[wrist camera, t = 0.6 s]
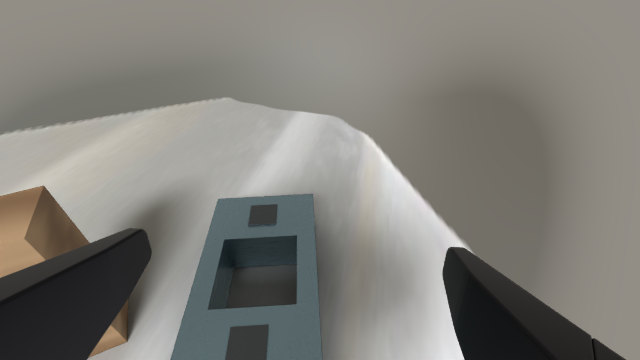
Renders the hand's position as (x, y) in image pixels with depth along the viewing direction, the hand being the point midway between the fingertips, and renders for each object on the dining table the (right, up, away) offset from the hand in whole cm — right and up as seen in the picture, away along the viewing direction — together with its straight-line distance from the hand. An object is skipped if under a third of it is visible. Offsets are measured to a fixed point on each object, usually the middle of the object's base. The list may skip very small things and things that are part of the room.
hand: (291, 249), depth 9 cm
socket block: (-4, -8, +16) cm, 18 cm away
